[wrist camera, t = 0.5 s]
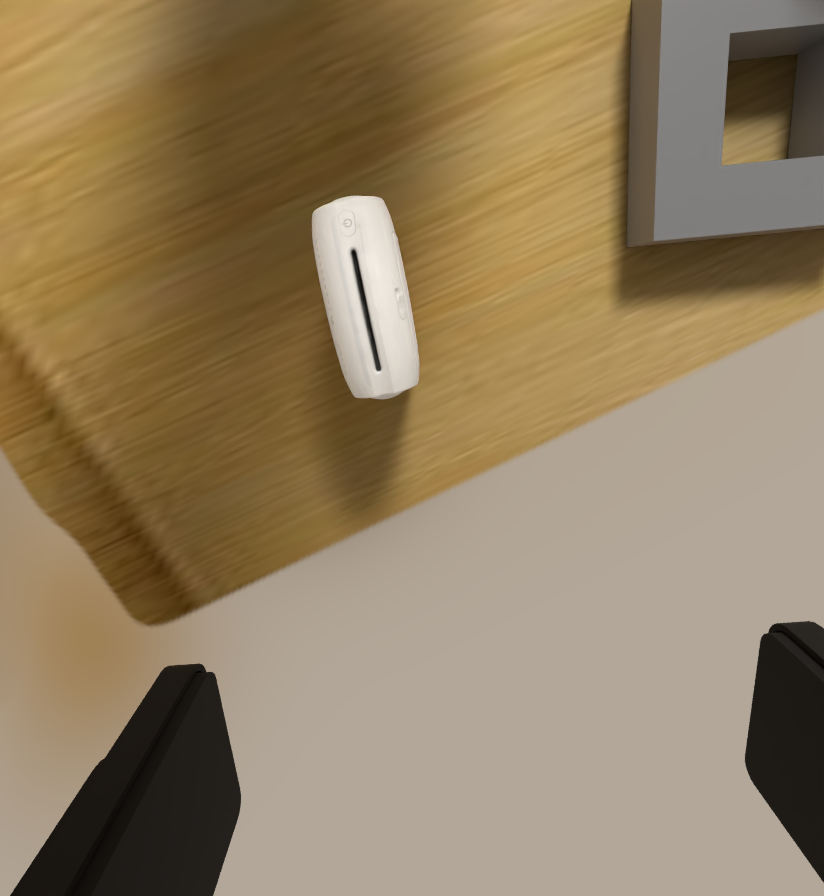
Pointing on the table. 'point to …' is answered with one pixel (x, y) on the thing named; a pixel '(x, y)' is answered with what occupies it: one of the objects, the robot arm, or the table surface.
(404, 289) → the photo printer
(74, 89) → the table surface
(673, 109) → the socket box
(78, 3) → the table surface
